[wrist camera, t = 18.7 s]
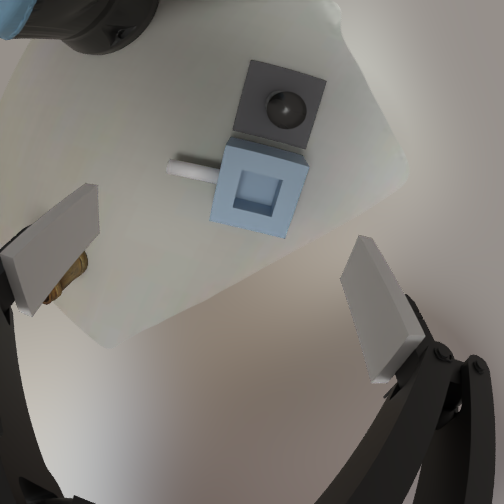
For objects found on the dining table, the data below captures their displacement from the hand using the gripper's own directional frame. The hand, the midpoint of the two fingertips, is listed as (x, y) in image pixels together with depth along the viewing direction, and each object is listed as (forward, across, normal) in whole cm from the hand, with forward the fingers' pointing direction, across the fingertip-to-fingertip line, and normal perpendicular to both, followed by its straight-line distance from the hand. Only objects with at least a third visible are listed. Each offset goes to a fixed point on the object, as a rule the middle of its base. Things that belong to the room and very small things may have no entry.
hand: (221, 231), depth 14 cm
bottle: (+27, +3, +5) cm, 28 cm away
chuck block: (+27, -1, -6) cm, 28 cm away
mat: (+27, +3, +5) cm, 28 cm away
